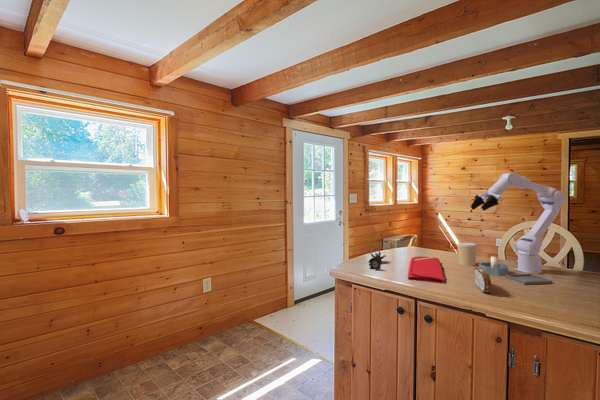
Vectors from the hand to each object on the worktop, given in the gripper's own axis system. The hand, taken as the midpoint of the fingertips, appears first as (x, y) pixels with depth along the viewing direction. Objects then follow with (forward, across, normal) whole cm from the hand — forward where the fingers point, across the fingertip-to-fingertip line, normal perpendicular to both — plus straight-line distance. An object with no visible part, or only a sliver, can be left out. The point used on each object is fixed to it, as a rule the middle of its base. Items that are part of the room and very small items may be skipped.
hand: (477, 208), depth 151 cm
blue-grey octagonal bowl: (+15, +1, +30) cm, 33 cm away
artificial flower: (+54, -22, -4) cm, 59 cm away
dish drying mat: (+38, -8, +10) cm, 41 cm away
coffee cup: (+17, -15, +28) cm, 36 cm away
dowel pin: (+14, +1, +30) cm, 33 cm away
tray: (+10, +15, +34) cm, 38 cm away
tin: (+32, +23, +15) cm, 42 cm away
